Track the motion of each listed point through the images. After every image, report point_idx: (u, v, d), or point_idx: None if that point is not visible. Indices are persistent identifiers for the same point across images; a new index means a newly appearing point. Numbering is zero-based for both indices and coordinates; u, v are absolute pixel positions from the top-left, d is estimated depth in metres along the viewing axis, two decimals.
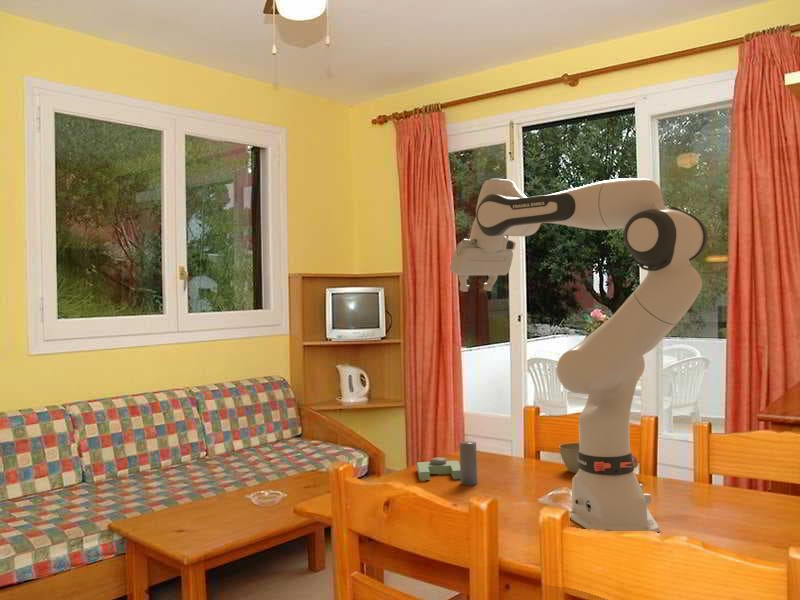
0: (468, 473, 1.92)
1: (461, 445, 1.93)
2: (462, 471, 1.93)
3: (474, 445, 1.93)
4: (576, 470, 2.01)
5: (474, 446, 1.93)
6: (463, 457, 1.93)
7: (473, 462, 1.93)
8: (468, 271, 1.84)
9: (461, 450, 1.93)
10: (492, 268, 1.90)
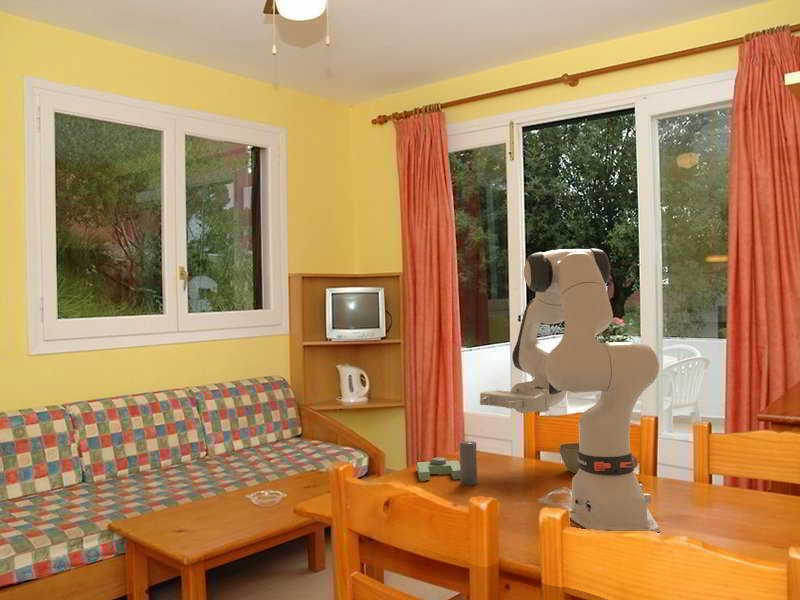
0: (468, 473, 1.92)
1: (461, 445, 1.93)
2: (462, 471, 1.93)
3: (474, 445, 1.93)
4: (576, 470, 2.01)
5: (474, 446, 1.93)
6: (463, 457, 1.93)
7: (473, 462, 1.93)
8: (490, 392, 2.11)
9: (461, 450, 1.93)
10: (516, 395, 2.05)
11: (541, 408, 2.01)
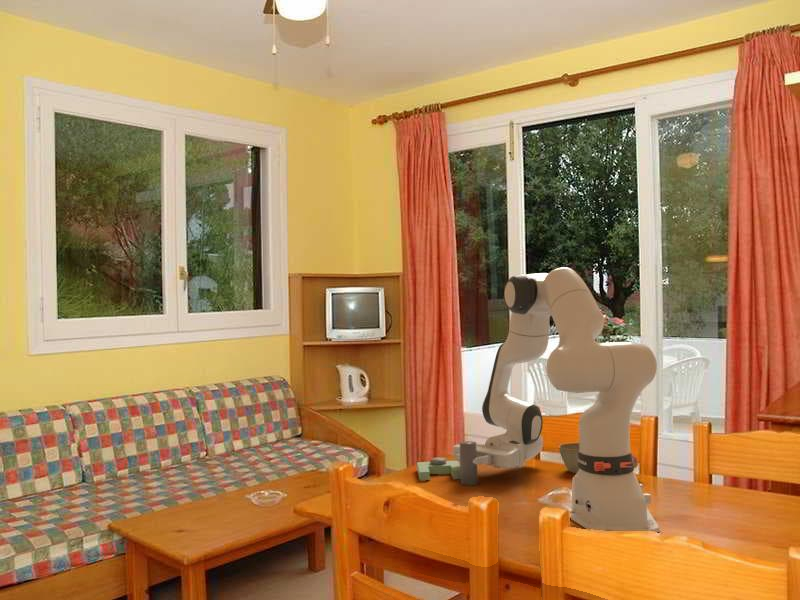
0: (468, 473, 1.92)
1: (461, 445, 1.93)
2: (462, 471, 1.93)
3: (474, 445, 1.93)
4: (576, 470, 2.01)
5: (474, 446, 1.93)
6: (463, 457, 1.93)
7: None
8: None
9: (461, 450, 1.93)
10: (489, 450, 1.96)
11: (515, 465, 1.92)
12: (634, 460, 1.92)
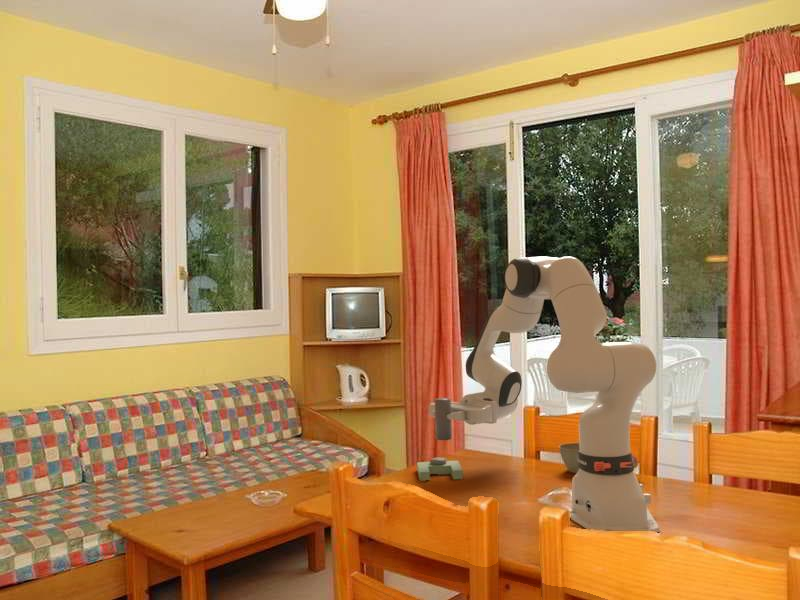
0: (442, 428, 1.99)
1: (436, 401, 2.00)
2: (437, 426, 2.00)
3: (448, 401, 2.00)
4: (576, 470, 2.01)
5: (448, 402, 2.00)
6: (437, 412, 2.00)
7: None
8: None
9: (436, 406, 2.00)
10: (463, 406, 2.03)
11: (487, 420, 1.99)
12: (634, 460, 1.92)
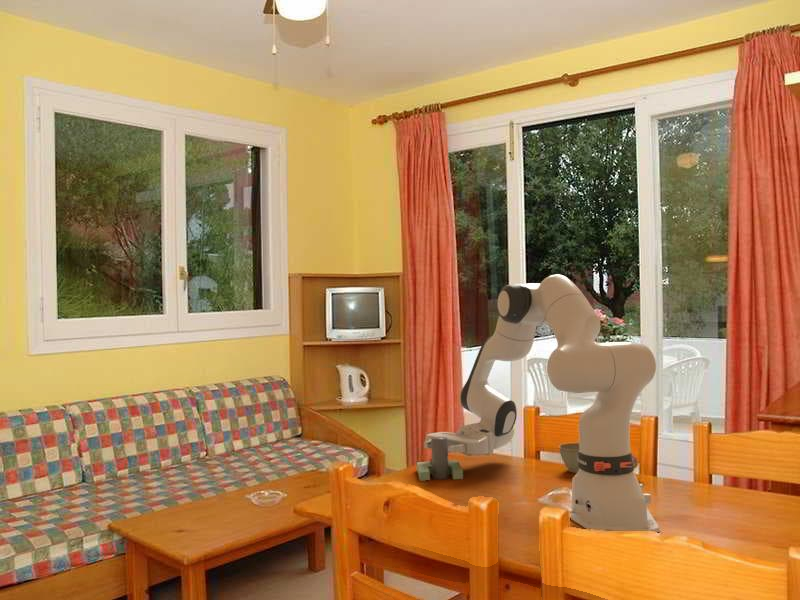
0: (439, 467, 2.00)
1: (433, 440, 2.01)
2: (433, 465, 2.01)
3: (445, 440, 2.01)
4: (576, 470, 2.01)
5: (445, 441, 2.01)
6: (434, 451, 2.01)
7: (444, 456, 2.00)
8: (435, 435, 2.10)
9: (433, 445, 2.01)
10: (460, 438, 2.04)
11: (484, 452, 2.00)
12: (634, 460, 1.92)
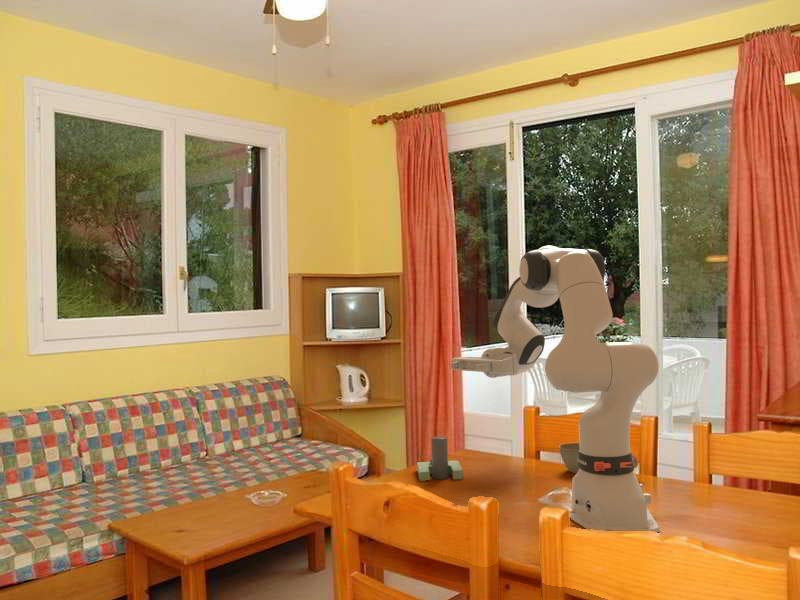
0: (439, 467, 2.00)
1: (432, 440, 2.01)
2: (433, 465, 2.01)
3: (445, 440, 2.01)
4: (576, 470, 2.01)
5: (445, 441, 2.01)
6: (434, 451, 2.01)
7: (444, 456, 2.00)
8: (461, 358, 2.18)
9: (432, 445, 2.01)
10: (485, 359, 2.12)
11: (508, 371, 2.08)
12: (634, 460, 1.92)
